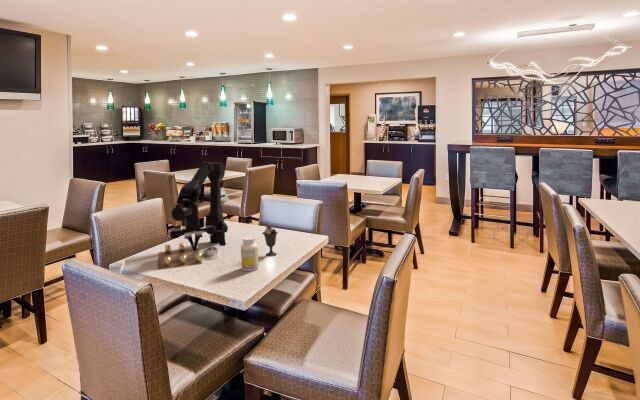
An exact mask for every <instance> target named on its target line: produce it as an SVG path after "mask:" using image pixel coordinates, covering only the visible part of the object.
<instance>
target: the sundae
mask: <svg viewBox="0 0 640 400" xmlns="http://www.w3.org/2000/svg"><path fill="white" fill-rule="evenodd" d="M265 223H266V224H267V226H266V228H265V230H264V231H263V232H262V235H263V236H264V239H265V240H264V241H265V244H266V246H267V247H268V248H269V252H267V253H265V256H267V257H275V256H277V255H278V253H277V252H274V251H273V247H274V246H275V245H276V241H277V234H278V233H279V232H278V231H276V228H274V227H273V226H270V225H269V223H268V221H265Z"/></svg>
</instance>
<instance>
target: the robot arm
mask: <svg viewBox="0 0 640 400" xmlns="http://www.w3.org/2000/svg"><path fill="white" fill-rule="evenodd" d="M225 172H226V165H224V163H222V162H211V161H209V162H208V161H202V162H201V163H200V165H199V168H198V169H197V171H196V172H195V174H194V175H193V177H192V178H191V180H190V181H188V182H187V183H185V184H184V185H183V186H182V187H181V188H180V190H179V194H178V197H177V200H176V204H175V207H174V208H173V209H172V211H171V217H172V219H174V221H177V222H181V227H185V229H181V230H180V228H179V227H178V228H171V229H170V230H169V238H170V239H178V238H179V237H181V235H184V239H185V240H186V239H187V241H188V242H189V244H190V246H191V248H193V250H194V251H196V247H197V244H198V245H199V242H200V239H201V238H203V233H206V234H208V235H209V240H210V241H209V243H210V244H218V245H219V246H226V244H227V243H226V233H228V230H229V226H228V225H227V224H226V222H225V216H224V215H223V213H222V212H221V206H222V205H221V204H222V203H221V200H222V199H221V196H222V195H221V193H222V191H221V190H222V180H223V179H224V177H225ZM207 178H208V180H209V213H208V214H207V215H205V223H204V224H205V226H204V227H201V226H200V215H199V214H200V213H199V204H200V203H201V202H200V200H199V198H200V197H201V193H202V190H201V188H202V186H203V185H204V183H205V181H206V180H207ZM192 234H193V235H194V240H193V235H192ZM193 242H194V244H193Z"/></svg>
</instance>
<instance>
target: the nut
mask: <svg viewBox="0 0 640 400" xmlns="http://www.w3.org/2000/svg"><path fill="white" fill-rule="evenodd" d="M218 250H219V249H218V248H217V247H216V246H209V247H208V246H207V247H206V248H204V255H206V256H215V255H216V254H217V255H218V254H219V251H218Z"/></svg>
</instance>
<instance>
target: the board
mask: <svg viewBox="0 0 640 400" xmlns="http://www.w3.org/2000/svg"><path fill="white" fill-rule="evenodd" d="M204 249H205V248H204ZM204 249H199V250H196V251H194V250H193V248H192V247H191V248H185V251H184V252H180V249H174V250H171V253H170V254H166V253H165V251H159V252H158V257H157V271H159V270H161V271H162V270H168V269H175V268H183V267H190V266H197V265H203V262H204V261H206V262H207V261H212V260H218V259H219V257H218V254H216V255H215V256H206V255H204ZM197 253H201V260H202V262H201V263H196V254H197ZM181 255H186V263H187V264H185V265H181V259H180V256H181ZM165 257H170V259H171V266H170V267H165Z"/></svg>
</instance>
